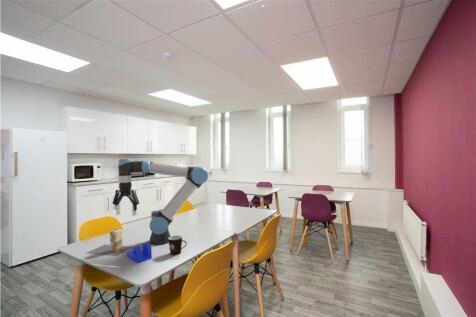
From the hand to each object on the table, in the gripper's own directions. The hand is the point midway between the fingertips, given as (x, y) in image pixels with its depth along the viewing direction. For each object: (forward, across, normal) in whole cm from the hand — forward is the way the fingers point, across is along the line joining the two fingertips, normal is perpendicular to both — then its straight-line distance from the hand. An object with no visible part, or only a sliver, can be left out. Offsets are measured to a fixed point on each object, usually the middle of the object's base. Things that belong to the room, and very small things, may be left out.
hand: (126, 215), depth 155 cm
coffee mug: (+24, -35, -3) cm, 42 cm away
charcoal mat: (+24, +13, 0) cm, 28 cm away
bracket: (+25, -13, +6) cm, 28 cm away
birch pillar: (+24, +8, 0) cm, 25 cm away
